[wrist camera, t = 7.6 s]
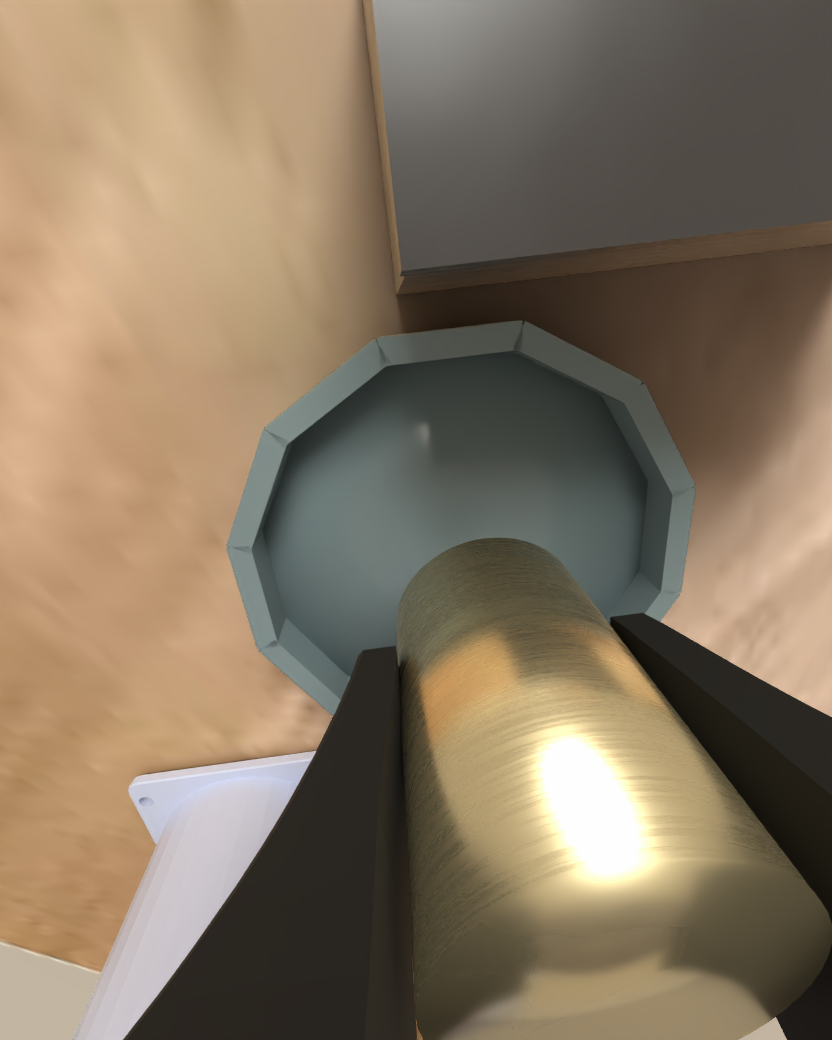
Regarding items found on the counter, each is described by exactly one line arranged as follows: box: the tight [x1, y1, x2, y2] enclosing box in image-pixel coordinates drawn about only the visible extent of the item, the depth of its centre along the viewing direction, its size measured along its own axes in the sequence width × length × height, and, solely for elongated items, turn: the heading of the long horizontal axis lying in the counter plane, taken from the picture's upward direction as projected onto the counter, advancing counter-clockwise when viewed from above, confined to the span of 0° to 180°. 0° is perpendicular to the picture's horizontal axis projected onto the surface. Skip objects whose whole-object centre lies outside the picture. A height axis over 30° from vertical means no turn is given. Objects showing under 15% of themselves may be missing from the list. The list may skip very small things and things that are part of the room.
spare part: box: [397, 538, 832, 1040], centre depth 7 cm, size 4×4×6 cm
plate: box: [226, 320, 696, 716], centre depth 13 cm, size 12×12×2 cm
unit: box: [363, 0, 832, 295], centre depth 7 cm, size 6×12×8 cm, turn 96°
